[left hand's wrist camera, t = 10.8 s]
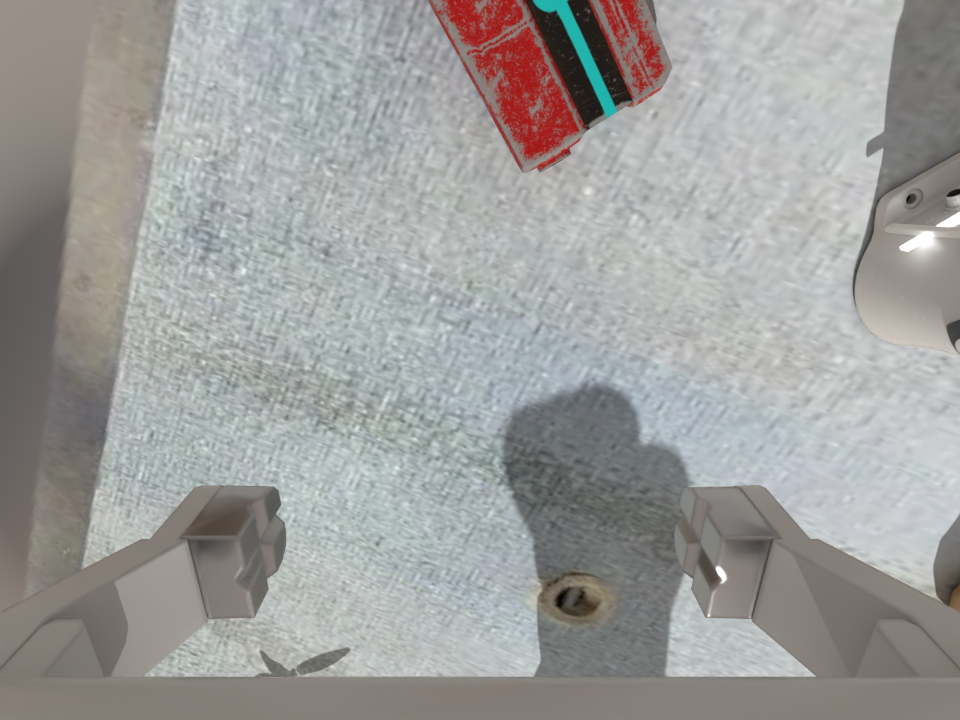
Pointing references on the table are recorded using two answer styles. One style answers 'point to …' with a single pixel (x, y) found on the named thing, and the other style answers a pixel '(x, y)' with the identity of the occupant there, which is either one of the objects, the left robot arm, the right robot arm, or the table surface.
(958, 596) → the squash
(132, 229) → the table surface
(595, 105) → the gun
